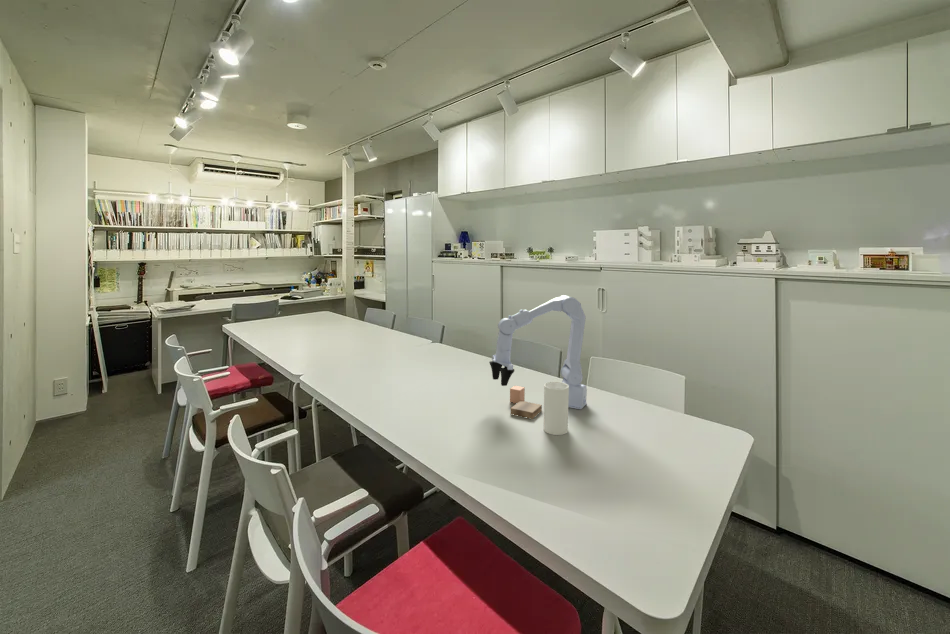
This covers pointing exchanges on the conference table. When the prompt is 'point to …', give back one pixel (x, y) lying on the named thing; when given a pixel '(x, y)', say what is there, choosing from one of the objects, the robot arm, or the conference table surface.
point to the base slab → (526, 409)
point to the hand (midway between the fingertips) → (499, 382)
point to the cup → (556, 408)
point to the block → (517, 394)
